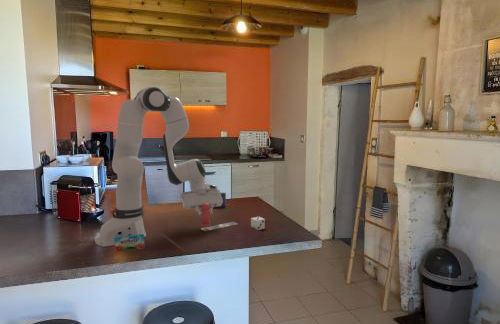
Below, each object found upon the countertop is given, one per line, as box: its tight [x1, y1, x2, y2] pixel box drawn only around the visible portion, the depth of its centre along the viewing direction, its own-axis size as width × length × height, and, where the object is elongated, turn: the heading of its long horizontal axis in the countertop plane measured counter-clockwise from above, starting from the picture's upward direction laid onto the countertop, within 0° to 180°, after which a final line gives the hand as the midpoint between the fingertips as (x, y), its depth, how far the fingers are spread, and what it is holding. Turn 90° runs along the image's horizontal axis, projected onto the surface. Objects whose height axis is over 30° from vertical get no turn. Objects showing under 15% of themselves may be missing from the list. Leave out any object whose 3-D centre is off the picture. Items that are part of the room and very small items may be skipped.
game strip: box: [200, 221, 238, 232], centre depth 179 cm, size 22×12×1 cm, turn 125°
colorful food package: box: [114, 234, 146, 253], centre depth 150 cm, size 12×2×6 cm, turn 108°
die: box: [250, 216, 266, 231], centre depth 179 cm, size 5×5×5 cm
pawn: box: [200, 203, 211, 228], centre depth 174 cm, size 5×5×11 cm
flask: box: [215, 189, 227, 208], centre depth 220 cm, size 9×3×11 cm, turn 87°
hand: (206, 214), depth 173 cm, fingers closed on pawn, 4 cm apart
